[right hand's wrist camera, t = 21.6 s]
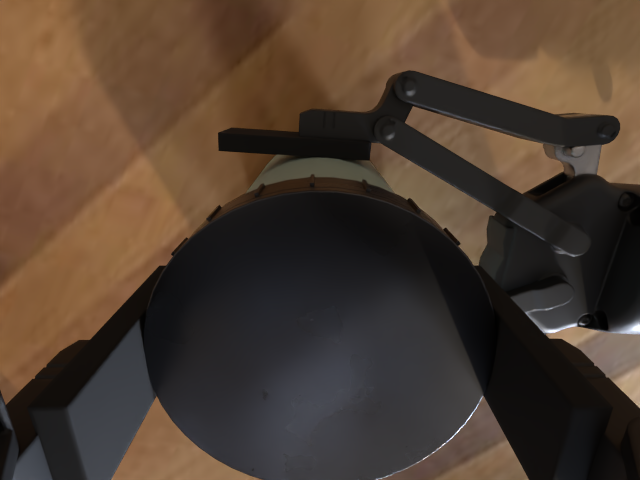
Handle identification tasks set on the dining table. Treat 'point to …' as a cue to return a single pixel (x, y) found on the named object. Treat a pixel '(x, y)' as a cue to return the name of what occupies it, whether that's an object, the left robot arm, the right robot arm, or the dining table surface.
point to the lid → (320, 333)
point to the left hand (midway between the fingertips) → (227, 234)
